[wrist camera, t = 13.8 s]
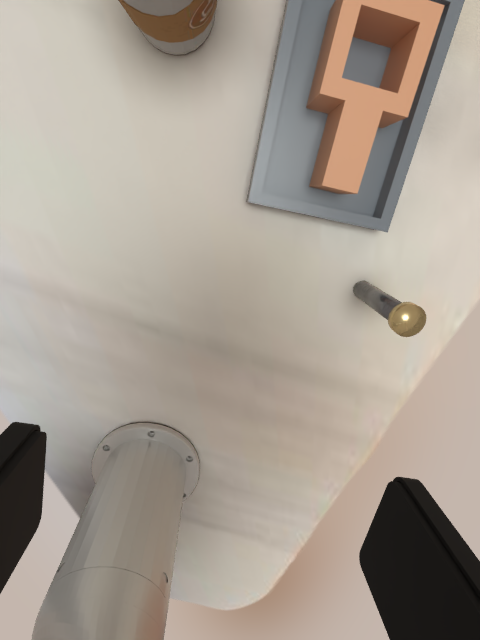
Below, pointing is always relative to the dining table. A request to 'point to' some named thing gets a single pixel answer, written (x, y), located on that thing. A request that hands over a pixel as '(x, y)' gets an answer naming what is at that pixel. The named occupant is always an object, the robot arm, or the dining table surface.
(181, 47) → the coffee cup
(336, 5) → the orange flat handled frame
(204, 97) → the dining table surface
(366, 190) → the tray
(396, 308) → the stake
